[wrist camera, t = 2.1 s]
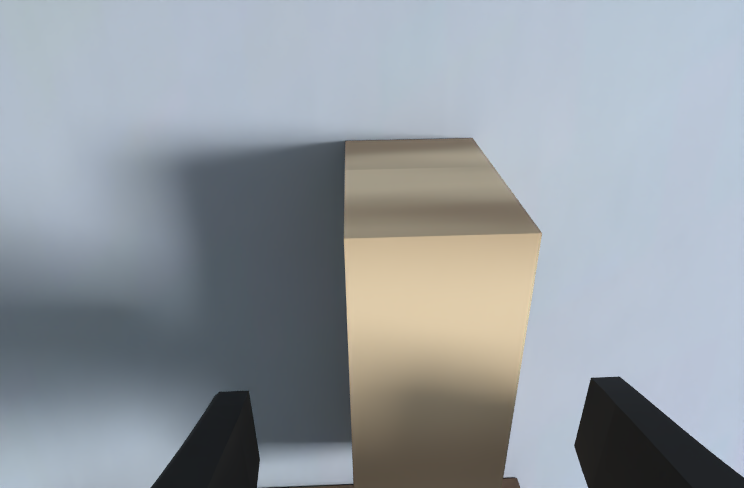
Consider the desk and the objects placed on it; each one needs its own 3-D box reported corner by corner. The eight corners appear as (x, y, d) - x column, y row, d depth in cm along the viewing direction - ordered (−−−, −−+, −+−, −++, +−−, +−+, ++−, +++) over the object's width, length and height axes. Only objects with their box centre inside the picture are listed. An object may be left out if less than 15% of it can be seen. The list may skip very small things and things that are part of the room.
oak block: (345, 141, 12) (343, 237, 8) (472, 138, 12) (542, 232, 8) (355, 442, 17) (358, 610, 13) (447, 438, 17) (482, 603, 13)
